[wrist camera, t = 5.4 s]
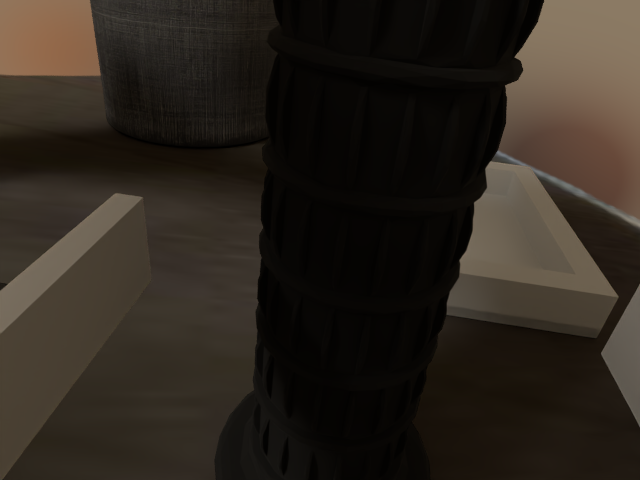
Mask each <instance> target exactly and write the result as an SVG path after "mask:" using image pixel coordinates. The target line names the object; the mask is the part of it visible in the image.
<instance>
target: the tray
mask: <svg viewBox="0 0 640 480" xmlns="http://www.w3.org/2000/svg"><path fill="white" fill-rule="evenodd" d="M485 171H486V180H487V189H486V190H485V192H484V193H483V195H482V196H481V198H480V199H478V200H477V201H476V202H474V217H473V232H472V235H471V238H470V241H469V244H468V247H467V251H466V252H465V253H464V255H463V256H462V257H461V259H460V260H459V261H460V275H459V278H458V280H457V281H456V283H455V285H454V286H453V288H452V289H451V291H450V295H449V298H448V301H447V314H446V315H451V316H457V317H463V318H470V319H476V320H482V321H489V322H495V323H501V324H508V325H514V326H520V327H527V328H533V329H539V330H546V331H552V332H558V333H565V334H571V335H577V336H584V337H590V338H597V337H598V335H599V333H600V331H601V329H602V327H603V325H604V324H605V322H606V320H607V318H608V316H609V314H610V313H611V311H612V309H613V307H614V305H615V303H616V301H617V300H618V298H619V297H618V295H617V294H616V292H615V291H614V290H613V288H612V287H611V285H610V284H609V282H608V281H607V279H606V278H605V276H604V275H603V273H602V272H601V271H600V269H599V268H598V266H597V265H596V263H595V262H594V260H593V259H592V257H591V256H590V254H589V253H588V252H587V250H586V249H585V247H584V246H583V244H582V243H581V241H580V240H579V238H578V237H577V235H576V234H575V232H574V231H573V230H572V228H571V227H570V225H569V224H568V222H567V221H566V219H565V218H564V216H563V215H562V213H561V212H560V211H559V209H558V208H557V206H556V205H555V203H554V202H553V200H552V199H551V197H550V196H549V194H548V193H547V191H546V190H545V189H544V187H543V186H542V184H541V183H540V181H539V180H538V178H537V177H536V175H535V174H534V172H533V171H532V170H531V168H530V167H526V166H519V165H512V164H504V163H497V162H490V163H489V164H488V166H487V167H486V169H485Z"/></svg>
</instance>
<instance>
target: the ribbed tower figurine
mask: <svg viewBox="0 0 640 480" xmlns="http://www.w3.org/2000/svg"><path fill="white" fill-rule="evenodd" d="M543 3H544V0H273V4H274V10H275V15H276V18H277V20H278V22H279V25H278V26H276V27H275V28H273V29H272V30H270V31H269V33H268V38H267V43H268V44H269V46H270V47H271V48H272V49H273V50H274V51H276V52H277V53H278V54H277V56H276V57H275V60H274V64H273V67H272V70H271V74H270V77H269V81H268V84H267V87H266V110H265V119H266V123H267V127H268V132H269V136H270V137H269V139H268V140H267V142H266V143H265V145H264V146H263V148H262V155H263V161H264V162H265V164H266V165H267V167H268V171H267V174H266V177H265V182H264V191H263V194H262V201H261V221H262V224H263V229H262V231H261V233H260V235H259V248H260V254H261V256H262V259H261V268H260V276H259V279H258V297H257V299H258V302H259V303H258V306H257V309H256V324H257V330H258V332H257V345H256V347H255V369H254V376H253V384H254V391H252V392H251V393H249V394H248V395H247V396H246V397H245V398H244V399H243V400H242V401H241V403H240V404H239V405H238V406H237V407H236V408H235V410H234V411H233V412H232V413H231V414H230V416H229V418H228V420H227V422H226V425H225V427H224V429H223V431H222V433H221V435H220V437H219V442H218V447H217V451H216V456H215V472H216V480H430V470H429V459H428V457H427V454H426V451H425V448H424V445H423V443H422V440H421V437H420V435H419V433H418V431H417V430H416V428H415V427H414V425H413V424H412V420H413V419H414V417H415V416H416V412H417V409H418V405H419V401H420V395H421V393H422V391H423V388H424V385H425V382H426V369H427V366H428V364H429V363H430V362H431V361H432V358H433V356H434V353H435V351H436V348H437V338H438V333H439V332H440V331H441V330H442V327H443V324H444V321H445V317H446V314H447V301H448V298H449V295H450V291H451V289H452V288H453V286H454V285H455V283H456V281H457V280H458V278H459V275H460V261H459V260H460V259H461V257H462V256H463V255H464V253H465V252H466V251H467V247H468V244H469V241H470V238H471V235H472V232H473V217H474V202H476V201H477V200H478V199H480V198H481V196H482V195H483V193H484V192H485V190H486V189H487V180H486V171H485V169H486V167H487V166H488V164H489V163H490V161H491V160H492V158H493V157H494V155H495V154H496V152H497V151H498V148H499V144H500V141H501V138H502V134H503V131H504V127H505V124H506V106H507V96H506V88H505V85H507V84H509V83H512V82H514V81H517V80H518V79H519V77H520V75H521V73H522V72H523V68H522V64H521V61H520V60H518V59H516V58H515V55H516V54H517V53H518V52H519V50H520V49H521V48H522V47H523V45H524V43H525V42H526V40H527V38H528V37H529V35H530V34H531V32H532V30H533V29H534V27H535V26H536V24H537V22H538V19H539V16H540V12H541V9H542V6H543Z"/></svg>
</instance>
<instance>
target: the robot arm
mask: <svg viewBox="0 0 640 480" xmlns="http://www.w3.org/2000/svg"><path fill="white" fill-rule="evenodd" d="M151 280H152V279H151V269H150V260H149V250H148V240H147V230H146V221H145V211H144V201H143V197H138V196H131V195H124V194H118V193H115V194H114V195H113V196H112V197H111V198H109V199H108V200H107V201H106V202H105V203H103V204H102V205H101V206H100V207H99V208H98V209H96V210H95V211H94V212H93V213H92V214H90V215H89V216H88V217H87V218H86V219H85V220H83V221H82V222H81V223H80V224H79V225H77V226H76V227H75V228H74V229H73V230H72V231H70V232H69V233H68V234H67V235H66V236H64V237H63V238H62V239H61V240H60V241H59V242H57V243H56V244H55V245H54V246H53V247H51V248H50V249H49V250H48V251H47V252H46V253H44V254H43V255H42V256H41V257H40V258H38V259H37V260H36V261H35V262H34V263H33V264H31V265H30V266H29V267H28V268H27V269H25V270H24V271H23V272H22V273H21V274H20V275H18V276H17V277H16V278H15V279H14V280H12V281H11V282H10V283H9V284H5V283H0V480H3V478H4V477H5V476H6V474H7V473H8V472H9V470H10V469H11V467H12V466H13V465H14V463H15V462H16V461H17V459H18V458H19V457H20V455H21V454H22V453H23V451H24V450H25V449H26V447H27V446H28V445H29V443H30V442H31V441H32V439H33V438H34V437H35V435H36V434H37V433H38V431H39V430H40V429H41V427H42V426H43V425H44V423H45V422H46V421H47V419H48V418H49V417H50V415H51V414H52V413H53V411H54V410H55V409H56V407H57V406H58V405H59V403H60V402H61V401H62V399H63V398H64V397H65V395H66V394H67V393H68V391H69V390H70V389H71V387H72V386H73V385H74V383H75V382H76V381H77V379H78V378H79V377H80V375H81V374H82V373H83V371H84V370H85V369H86V367H87V366H88V365H89V363H90V362H91V361H92V359H93V358H94V357H95V355H96V354H97V353H98V351H99V350H100V349H101V347H102V346H103V345H104V343H105V342H106V341H107V339H108V338H109V336H110V335H111V334H112V332H113V331H114V330H115V328H116V327H117V326H118V324H119V323H120V322H121V320H122V319H123V318H124V316H125V315H126V314H127V312H128V311H129V310H130V308H131V307H132V306H133V304H134V303H135V302H136V300H137V299H138V298H139V296H140V295H141V294H142V292H143V291H144V290H145V288H146V287H147V286H148V284H149V283H150V282H151ZM601 355H602V357H603V359H604V360H605V362H606V364H607V366H608V368H609V370H610V372H611V374H612V375H613V377H614V379H615V381H616V383H617V385H618V387H619V389H620V390H621V392H622V394H623V396H624V398H625V400H626V402H627V404H628V406H629V407H630V409H631V411H632V413H633V415H634V417H635V419H636V421H637V422H638V424H639V426H640V285H639V287H638V288H637V290H636V292H635V294H634V295H633V297H632V299H631V301H630V303H629V304H628V306H627V308H626V310H625V311H624V313H623V315H622V317H621V319H620V320H619V322H618V324H617V326H616V327H615V329H614V331H613V333H612V335H611V336H610V338H609V340H608V342H607V343H606V345H605V347H604V349H603V351H602V352H601Z"/></svg>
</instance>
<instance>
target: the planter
mask: <svg viewBox="0 0 640 480" xmlns="http://www.w3.org/2000/svg"><path fill="white" fill-rule="evenodd" d="M90 3H91V10H92V17H93V24H94V31H95V38H96V45H97V52H98V59H99V66H100V72H101V80H102V86H103V92H104V100H105V108H106V116H107V120H108V122H109V124H110V125H111V126H112V127H113V128H115V129H116V130H118V131H120V132H121V133H124V134H126V135H128V136H131V137H134V138H137V139H140V140H144V141H148V142H153V143H158V144H165V145H173V146H184V147H222V146H232V145H240V144H245V143H250V142H254V141H258V140H261V139H264V138H266V137H268V136H269V132H268V127H267V123H266V119H265V110H266V87H267V84H268V81H269V77H270V74H271V70H272V67H273V64H274V60H275V57H276V56H277V54H278V53H277V52H276V51H274V50H273V49H272V48H271V47H270V46H269V44H268V43H267V38H268V33H269V31H270V30H272V29H273V28H275V27H276V26H278V25H279V22H278V20H277V18H276V15H275V10H274V4H273V0H90Z"/></svg>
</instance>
